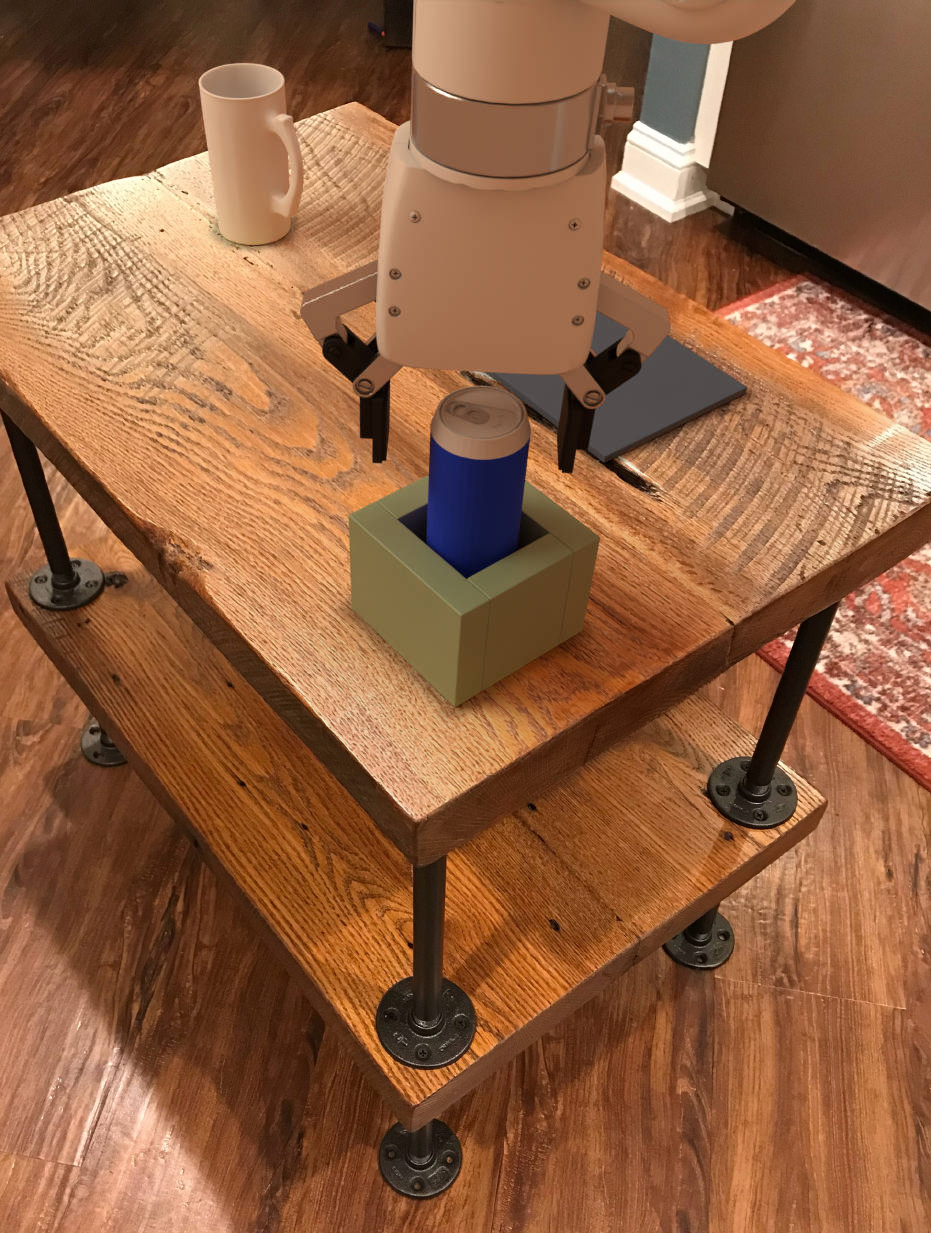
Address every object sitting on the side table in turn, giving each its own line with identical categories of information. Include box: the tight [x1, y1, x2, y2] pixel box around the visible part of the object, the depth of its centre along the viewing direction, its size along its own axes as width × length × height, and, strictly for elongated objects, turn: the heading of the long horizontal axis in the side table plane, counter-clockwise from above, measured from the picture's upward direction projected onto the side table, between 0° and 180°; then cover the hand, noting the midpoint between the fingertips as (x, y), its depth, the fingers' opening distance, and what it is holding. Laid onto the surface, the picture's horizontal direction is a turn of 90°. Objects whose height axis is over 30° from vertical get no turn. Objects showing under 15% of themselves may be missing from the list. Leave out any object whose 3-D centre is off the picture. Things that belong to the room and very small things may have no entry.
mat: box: [485, 311, 748, 464], centre depth 86 cm, size 18×14×1 cm
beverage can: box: [426, 385, 532, 579], centre depth 64 cm, size 5×5×15 cm
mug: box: [198, 62, 305, 246], centre depth 94 cm, size 10×7×12 cm, turn 44°
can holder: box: [348, 474, 601, 708], centre depth 67 cm, size 10×10×8 cm
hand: (472, 451), depth 60 cm, fingers open, 9 cm apart
